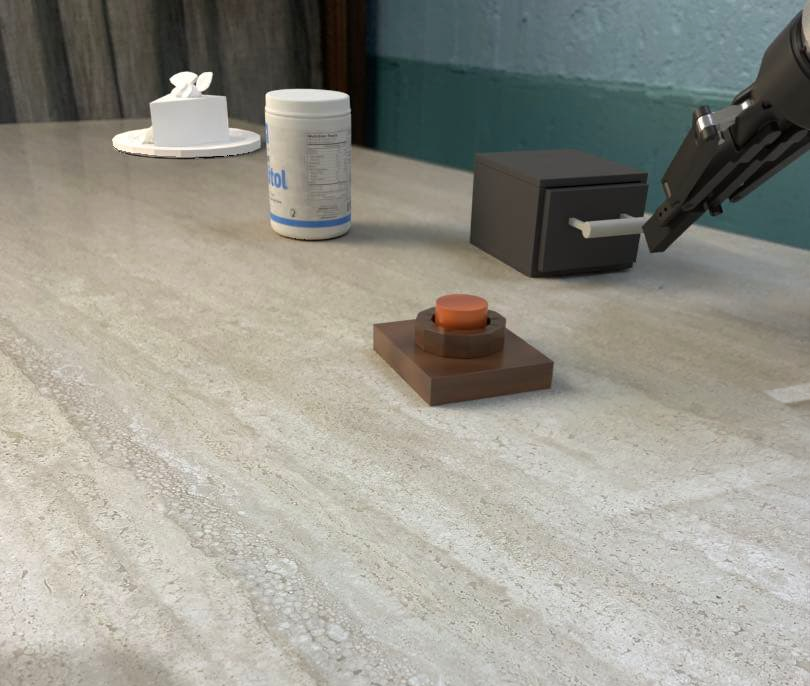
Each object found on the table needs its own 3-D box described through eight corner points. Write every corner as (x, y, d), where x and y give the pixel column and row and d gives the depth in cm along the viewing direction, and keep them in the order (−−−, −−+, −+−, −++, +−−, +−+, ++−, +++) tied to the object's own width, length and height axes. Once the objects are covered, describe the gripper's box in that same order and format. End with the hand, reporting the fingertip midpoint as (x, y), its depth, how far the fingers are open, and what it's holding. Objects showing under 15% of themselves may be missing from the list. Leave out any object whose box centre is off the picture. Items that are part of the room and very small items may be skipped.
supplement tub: (256, 228, 104) (247, 91, 96) (323, 217, 109) (319, 86, 101) (298, 246, 98) (292, 101, 89) (367, 234, 102) (367, 96, 94)
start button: (495, 329, 66) (497, 307, 65) (447, 335, 65) (448, 313, 64) (472, 313, 69) (474, 291, 68) (426, 318, 68) (427, 296, 67)
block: (551, 389, 66) (557, 338, 64) (430, 407, 62) (432, 354, 60) (481, 335, 75) (484, 290, 73) (372, 349, 72) (373, 302, 70)
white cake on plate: (171, 130, 163) (163, 62, 157) (287, 141, 155) (283, 70, 149) (82, 149, 144) (69, 73, 138) (209, 164, 136) (201, 83, 130)
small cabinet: (633, 267, 93) (648, 172, 88) (530, 278, 89) (540, 179, 84) (563, 234, 105) (573, 148, 99) (469, 242, 101) (474, 153, 95)
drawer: (660, 274, 88) (675, 193, 84) (564, 284, 85) (574, 201, 80) (569, 231, 102) (578, 160, 98) (483, 239, 98) (488, 165, 94)
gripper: (783, 98, 55) (603, 282, 77) (933, 93, 59) (722, 270, 82) (747, -3, 56) (580, 207, 79) (897, -1, 61) (698, 198, 83)
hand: (652, 239), depth 80 cm, fingers closed
